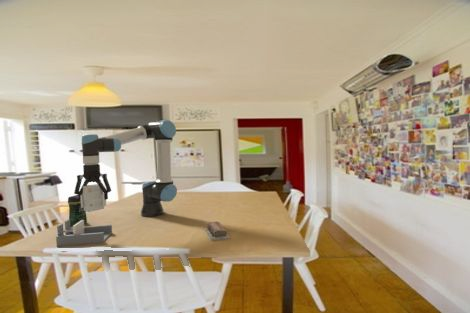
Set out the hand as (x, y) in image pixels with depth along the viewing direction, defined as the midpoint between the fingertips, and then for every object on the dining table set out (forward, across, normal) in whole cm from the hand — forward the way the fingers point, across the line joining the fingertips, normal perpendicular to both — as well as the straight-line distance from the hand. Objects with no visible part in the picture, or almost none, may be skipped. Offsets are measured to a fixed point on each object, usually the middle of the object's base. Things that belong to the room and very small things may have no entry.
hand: (93, 206), depth 135 cm
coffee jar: (+17, +21, -30) cm, 41 cm away
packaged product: (+18, -63, +8) cm, 66 cm away
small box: (+2, 0, 0) cm, 2 cm away
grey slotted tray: (+17, +4, 0) cm, 18 cm away
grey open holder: (+16, +12, 0) cm, 20 cm away
